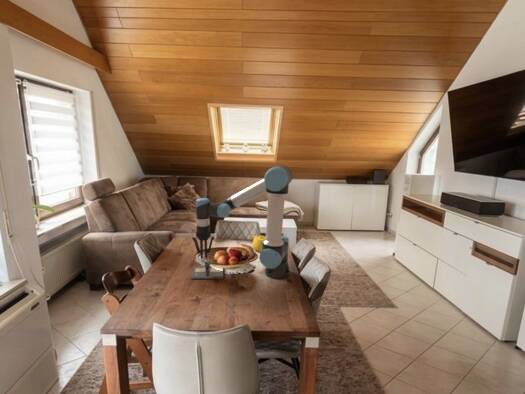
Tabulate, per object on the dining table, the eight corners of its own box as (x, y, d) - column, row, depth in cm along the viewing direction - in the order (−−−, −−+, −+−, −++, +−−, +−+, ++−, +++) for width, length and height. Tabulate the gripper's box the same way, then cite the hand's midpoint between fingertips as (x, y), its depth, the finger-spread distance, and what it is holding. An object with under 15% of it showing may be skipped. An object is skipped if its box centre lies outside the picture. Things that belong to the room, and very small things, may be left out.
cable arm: (199, 260, 184) (199, 256, 184) (210, 267, 174) (210, 264, 174) (194, 261, 182) (194, 258, 182) (206, 268, 172) (206, 265, 172)
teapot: (275, 252, 216) (276, 237, 214) (263, 256, 209) (264, 241, 207) (259, 245, 229) (259, 231, 227) (247, 248, 222) (247, 234, 220)
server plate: (224, 268, 188) (224, 259, 187) (223, 278, 174) (222, 269, 173) (194, 268, 186) (194, 260, 185) (190, 278, 173) (190, 269, 172)
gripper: (214, 223, 181) (215, 260, 185) (192, 223, 180) (194, 261, 184) (213, 226, 173) (214, 265, 178) (190, 227, 172) (192, 266, 177)
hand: (204, 263), depth 181 cm, fingers closed
